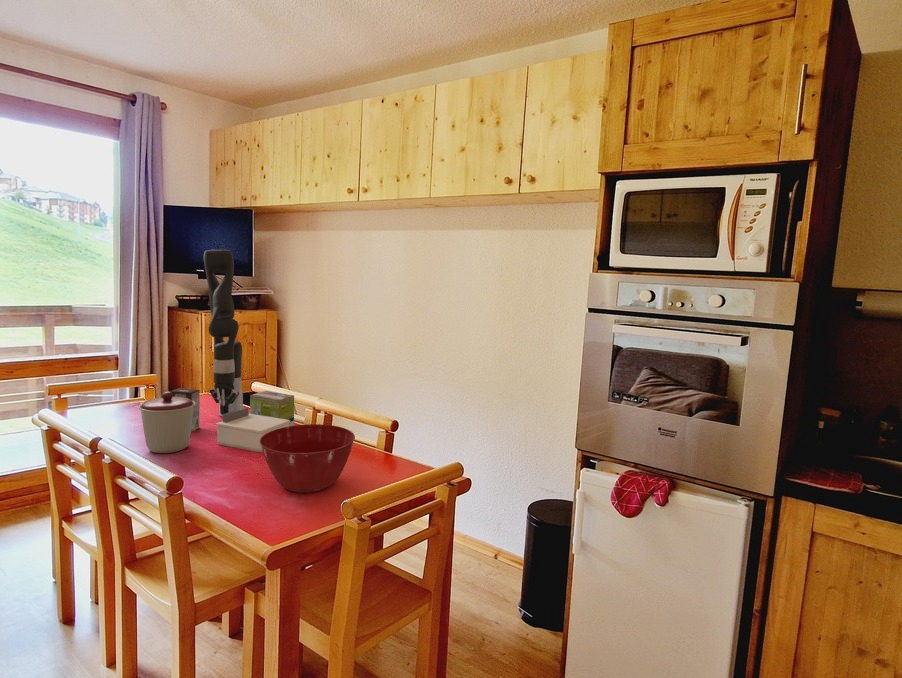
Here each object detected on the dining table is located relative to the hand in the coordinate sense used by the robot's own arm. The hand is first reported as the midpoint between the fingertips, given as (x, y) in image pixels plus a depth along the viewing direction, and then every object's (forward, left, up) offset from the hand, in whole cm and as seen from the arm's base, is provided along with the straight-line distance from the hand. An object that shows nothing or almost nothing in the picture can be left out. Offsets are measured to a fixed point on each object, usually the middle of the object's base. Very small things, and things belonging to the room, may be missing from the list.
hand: (224, 414), depth 212 cm
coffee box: (-1, -21, -9) cm, 23 cm away
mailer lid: (0, +14, -2) cm, 14 cm away
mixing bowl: (+25, +56, -9) cm, 62 cm away
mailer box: (0, +14, -9) cm, 17 cm away
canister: (+20, -7, -9) cm, 23 cm away
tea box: (-17, +9, -9) cm, 21 cm away
